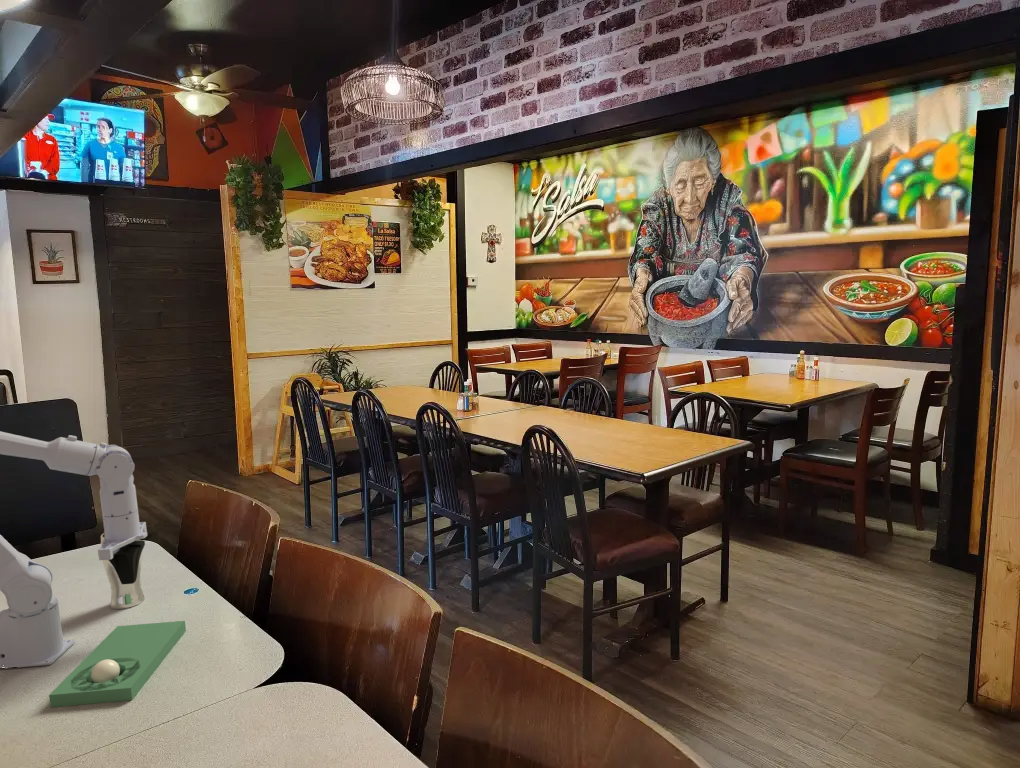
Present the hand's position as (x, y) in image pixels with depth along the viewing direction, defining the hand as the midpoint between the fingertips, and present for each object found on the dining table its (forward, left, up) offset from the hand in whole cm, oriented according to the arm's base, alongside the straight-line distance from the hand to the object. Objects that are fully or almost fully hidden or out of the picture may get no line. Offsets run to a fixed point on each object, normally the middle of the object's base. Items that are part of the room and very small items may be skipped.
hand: (129, 582), depth 127 cm
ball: (+4, -19, -7) cm, 20 cm away
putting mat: (+4, -13, -9) cm, 17 cm away
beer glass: (-7, +13, -10) cm, 18 cm away
